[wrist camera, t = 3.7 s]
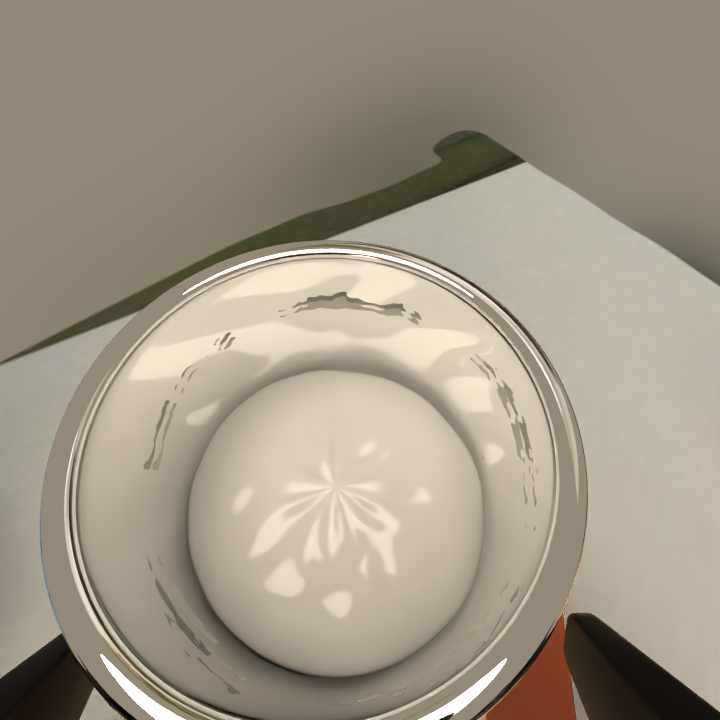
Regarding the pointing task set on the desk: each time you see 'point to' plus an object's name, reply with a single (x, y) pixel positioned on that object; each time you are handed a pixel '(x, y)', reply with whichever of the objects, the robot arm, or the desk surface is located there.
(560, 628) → the striped reddish-brown bar
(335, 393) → the beer glass
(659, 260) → the desk surface
